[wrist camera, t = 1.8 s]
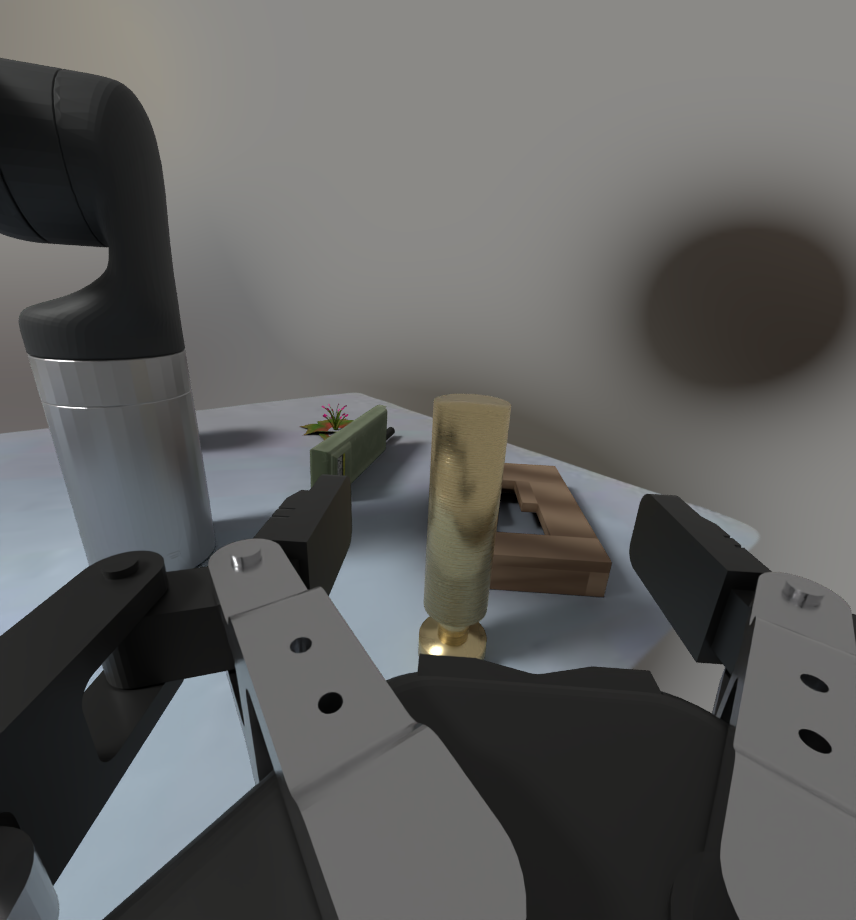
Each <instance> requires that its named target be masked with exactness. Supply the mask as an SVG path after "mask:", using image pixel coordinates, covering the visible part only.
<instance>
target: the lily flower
mask: <svg viewBox="0 0 856 920" xmlns="http://www.w3.org/2000/svg"><path fill="white" fill-rule="evenodd" d="M328 405H329V404H328ZM338 405H339V404H338ZM329 406H330V405H329ZM346 406H347V405H346ZM346 406H344V407H343V408H342V409H341V410H340V412H341V411H342V410H343V409H344V408H345V407H346ZM322 407H323V406H322ZM323 408H325V407H323ZM330 408H331V407H330ZM337 408H338V407H337ZM325 409H326V408H325ZM326 410H327V411H328V412H329V413H330V414H331V418H330V417H329V418H330V419H328V418H327V417H328V416H327V415H326V414H324V415H323V417H325V418H327V419H328V420H324V421H317V423H318V424H309V425H305V426H299V427H304V428H308V430H307V432H306V433H305V434H304V435H306V434H309V433H313V432H317V431H325V432H321V433H319V435H320V436H321V437H322V438H323V440H326V439H327V438H329V437H330V436H329V435H328V434H327V433H326V432H331V431H328V430H329V429H330V428H331V427H333V428H334V430H338V428H344V427H345V426H347V425H348V424H350V423H351V422H353V420H346V419H344V418H345V417H347V416H348V414H347V415H345V413H344V414H343V415H345V417H344V418H343V419H341V418H342V416H343V415H342V416H341V417H340V418H339V416H340V412H339V413H338V412H337V411H336V413H337V417H336V418H335V417H333V415H334V412H333V409H331V410H332V412H333V415H332V413H331V411H330V410H329V409H328V408H327V409H326ZM338 411H339V409H338ZM326 416H327V417H326ZM338 419H339V420H338ZM340 419H341V420H340ZM332 432H333V431H332Z"/></svg>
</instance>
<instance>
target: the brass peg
mask: <svg viewBox="0 0 856 920" xmlns="http://www.w3.org/2000/svg"><path fill="white" fill-rule="evenodd" d="M510 410H511V404H510V403H509V402H507V401H505V400H503V399H500V398H495V397H491V396H486V395H477V394H448V395H442V396H439V397H436V398H435V399H434V408H433V428H432V448H431V468H430V488H429V508H428V528H427V548H426V568H425V588H424V608H425V610H426V612H427V613H428V615H429V616H430V617H428V618H427V619H426V620H425V621H424V622H423V623H422V625H421V627H420V631H419V648H418V654H430V655H444V656H457V657H471V658H478V659H481V660H484V658H485V650H486V641H487V637H486V633H485V630H484V628H483V627H482V625H481V624H480V623H479V621H480V620H482V619H483V618H484V616H485V615H486V612H487V606H488V598H489V589H490V581H491V572H492V564H493V555H494V547H495V538H496V530H497V521H498V513H499V504H500V496H501V487H502V479H503V470H504V462H505V453H506V445H507V436H508V427H509V419H510Z"/></svg>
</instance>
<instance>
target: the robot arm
mask: <svg viewBox="0 0 856 920" xmlns="http://www.w3.org/2000/svg"><path fill="white" fill-rule="evenodd" d="M0 233H1V234H3V235H6V236H9V237H13V238H17V239H21V240H25V241H30V242H37V243H50V244H51V243H52V244H64V245H79V246H94V247H109V261H108V266H107V269H106V270H105V272H104V273H103V274H102V275H101V276H100V277H99V278H98V279H97V280H95V281H94V282H92V283H91V284H90V285H88V286H86V287H85V288H83V289H81V290H79V291H77V292H74V293H72V294H70V295H67V296H64V297H61V298H57V299H54V300H50V301H47V302H43V303H39V304H36V305H33V306H30V307H27V308H26V309H24V310H23V311H22V312H21V314H20V316H19V326H20V331H21V335H22V338H23V341H24V345H25V348H26V352H27V353H28V358H29V361H30V365H31V368H32V371H33V375H34V379H35V382H36V385H37V389H38V392H39V395H40V398H41V402H42V405H43V408H44V412H45V415H46V419H47V422H48V426H49V429H50V432H51V436H52V439H53V443H54V446H55V450H56V453H57V456H58V460H59V463H60V467H61V470H62V474H63V477H64V480H65V484H66V487H67V491H68V494H69V498H70V501H71V504H72V508H73V511H74V515H75V518H76V522H77V525H78V528H79V533H80V536H81V540H82V543H83V546H84V550H85V553H86V557H87V560H88V563H89V567H87V568H86V569H84V570H83V571H82V572H81V573H79V574H78V575H77V576H76V577H74V578H73V579H72V580H71V581H69V582H68V583H67V584H66V585H64V586H63V587H62V588H60V589H59V590H58V591H57V592H55V593H54V594H53V595H52V596H50V597H49V598H48V599H47V600H45V601H44V602H43V603H42V604H40V605H39V606H38V607H37V608H35V609H34V610H33V611H31V612H30V613H29V614H28V615H26V616H25V617H24V618H23V619H21V620H20V621H19V622H18V623H16V624H15V625H14V626H13V627H11V628H10V629H9V630H8V631H6V632H5V633H4V634H3V635H1V636H0V920H58V917H59V901H58V896H57V894H56V891H55V889H54V887H53V886H54V884H55V883H56V881H57V879H58V878H59V876H60V875H61V873H62V871H63V870H64V868H65V867H66V865H67V864H68V862H69V860H70V859H71V857H72V856H73V854H74V853H75V851H76V849H77V848H78V846H79V845H80V843H81V842H82V840H83V838H84V837H85V835H86V834H87V832H88V830H89V829H90V827H91V826H92V824H93V823H94V821H95V819H96V818H97V816H98V815H99V813H100V812H101V810H102V808H103V807H104V805H105V804H106V802H107V801H108V799H109V797H110V796H111V794H112V793H113V791H114V789H115V788H116V786H117V785H118V783H119V782H120V780H121V778H122V777H123V775H124V774H125V772H126V771H127V769H128V767H129V766H130V764H131V763H132V761H133V759H134V758H135V756H136V755H137V753H138V752H139V750H140V748H141V747H142V745H143V744H144V742H145V741H146V739H147V737H148V736H149V734H150V733H151V731H152V730H153V728H154V726H155V725H156V723H157V722H158V720H159V718H160V717H161V715H162V714H163V712H164V711H165V709H166V707H167V706H168V704H169V703H170V701H171V700H172V698H173V696H174V695H175V693H176V692H177V690H178V689H179V687H180V685H181V684H182V682H183V680H184V679H186V678H191V677H196V676H202V675H207V674H212V673H217V672H223V671H226V673H227V678H228V681H229V685H230V688H231V692H232V695H233V699H234V703H235V706H236V710H237V713H238V717H239V720H240V724H241V727H242V731H243V735H244V738H245V742H246V746H247V750H248V754H249V758H250V763H251V768H252V773H253V777H254V781H255V786H254V787H253V788H252V789H251V790H250V791H249V792H247V793H246V794H245V795H244V796H243V797H242V798H241V799H239V800H238V801H237V802H236V803H235V804H234V805H233V806H231V807H230V808H229V809H228V810H227V811H226V812H225V813H223V814H222V815H221V816H220V817H219V818H218V819H217V820H215V821H214V822H213V823H212V824H211V825H210V826H209V827H208V828H206V829H205V830H204V831H203V832H202V833H201V834H200V835H198V836H197V837H196V838H195V839H194V840H193V841H192V842H190V843H189V844H188V845H187V846H186V847H185V848H184V849H182V850H181V851H180V852H179V853H178V854H177V855H176V856H174V857H173V858H172V859H171V860H170V861H169V862H168V863H166V864H165V865H164V866H163V867H162V868H161V869H160V870H158V871H157V872H156V873H155V874H154V875H153V876H152V877H150V878H149V879H148V880H147V881H146V882H145V883H144V884H142V885H141V886H140V887H139V888H138V889H137V890H136V891H134V892H133V893H132V894H131V895H130V896H129V897H128V898H126V899H125V900H124V901H123V902H122V903H121V904H120V905H118V906H117V907H116V908H115V909H114V910H113V911H112V912H110V913H109V914H108V915H107V916H106V917H105V918H104V919H102V920H856V615H855V614H852V613H851V608H850V606H849V605H848V603H847V602H846V601H845V600H844V599H843V598H842V597H840V596H839V595H837V594H836V593H835V592H833V591H832V590H830V589H828V588H826V587H824V586H822V585H820V584H818V583H816V582H813V581H811V580H809V579H806V578H803V577H800V576H796V575H792V574H788V573H781V572H772V571H770V570H769V569H768V568H767V567H766V566H765V565H763V564H762V563H761V562H760V561H758V559H756V558H755V557H754V556H753V555H752V554H751V553H749V552H748V551H747V550H746V549H745V548H741V545H740V544H739V543H738V542H737V541H735V540H734V539H733V538H730V536H729V535H728V534H727V533H726V532H725V531H724V530H722V529H721V528H720V527H719V526H718V525H716V524H715V523H713V522H711V521H709V520H707V519H705V518H703V517H701V516H700V515H699V514H698V513H697V512H695V511H694V510H693V509H692V508H691V507H690V506H689V505H687V504H686V503H685V502H684V501H683V500H682V499H681V498H679V497H678V496H675V495H658V494H646V495H644V496H643V497H642V499H641V502H640V505H639V509H638V513H637V517H636V522H635V526H634V530H633V534H632V538H631V543H630V549H629V554H630V561H631V564H632V567H633V569H634V570H635V572H636V573H637V575H638V576H639V578H640V579H641V581H642V582H643V584H644V585H645V587H646V588H647V590H648V591H649V593H650V594H651V595H652V597H653V598H654V600H655V601H656V603H657V604H658V606H659V607H660V609H661V610H662V612H663V613H664V615H665V616H666V618H667V619H668V621H669V622H670V624H671V625H672V627H673V628H674V630H675V631H676V633H677V634H678V636H679V637H680V639H681V640H682V642H683V643H684V645H685V646H686V648H687V649H688V651H689V652H690V654H691V655H692V657H693V658H694V660H695V661H696V662H699V663H712V664H723V665H724V666H725V669H724V672H723V675H722V677H721V680H720V683H719V687H718V691H717V695H716V699H715V704H714V707H713V711H712V713H710V712H708V711H706V710H704V709H703V708H701V707H699V706H697V705H695V704H692V703H690V702H688V701H686V700H684V699H682V698H679V697H676V696H673V695H671V694H668V693H665V692H661V691H660V689H659V687H658V686H657V684H656V682H655V680H654V678H653V676H652V674H651V672H650V671H646V670H633V669H619V668H606V667H586V668H579V669H572V670H566V671H559V672H552V673H546V674H532V673H527V672H524V671H520V670H517V669H513V668H510V667H506V666H503V665H499V664H495V663H492V662H488V661H485V660H481V659H478V658H471V657H457V656H444V655H430V654H419V664H418V672H414V673H408V674H404V675H401V676H397V677H394V678H391V679H389V680H385V679H384V677H383V676H382V674H381V673H380V671H379V670H378V668H377V667H376V665H375V664H374V663H373V661H372V660H371V658H370V657H369V655H368V654H367V652H366V651H365V649H364V648H363V646H362V645H361V643H360V642H359V640H358V639H357V638H356V636H355V635H354V633H353V632H352V630H351V629H350V627H349V626H348V624H347V623H346V621H345V620H344V618H343V617H342V615H341V614H340V613H339V611H338V610H337V608H336V607H335V605H334V604H333V602H332V601H331V599H330V598H329V594H330V592H331V590H332V587H333V585H334V582H335V580H336V578H337V575H338V573H339V571H340V568H341V566H342V563H343V561H344V559H345V556H346V554H347V551H348V549H349V546H350V542H351V534H352V511H351V482H350V478H349V476H343V475H326V474H322V475H321V476H320V477H319V478H318V480H317V481H316V482H315V484H314V485H313V486H312V488H311V489H310V490H309V491H308V490H301V491H299V492H297V493H295V494H293V495H291V496H289V497H288V498H286V500H285V501H284V502H283V503H282V504H281V506H280V507H279V509H277V510H276V511H275V513H274V514H273V515H272V517H270V519H269V520H268V521H267V522H266V523H265V525H264V526H263V527H262V528H261V529H260V530H259V532H258V533H257V534H256V535H255V536H254V538H253V539H246V540H241V541H237V542H233V543H231V544H228V545H226V546H224V547H222V548H220V549H219V550H217V551H216V552H215V553H214V554H213V555H212V556H211V557H210V559H209V562H208V566H207V567H201V568H194V567H196V566H197V565H199V564H201V563H202V562H203V561H204V560H205V559H207V558H208V557H209V556H210V554H211V553H212V552H213V550H214V548H215V545H216V540H215V533H214V527H213V520H212V514H211V508H210V500H209V494H208V487H207V481H206V475H205V469H204V462H203V456H202V450H201V444H200V437H199V431H198V425H197V418H196V412H195V406H194V400H193V393H192V389H191V383H190V376H189V370H188V364H187V357H186V351H185V350H184V349H185V345H184V339H183V333H182V327H181V320H180V314H179V305H178V299H177V292H176V286H175V279H174V272H173V264H172V255H171V247H170V237H169V226H168V215H167V205H166V194H165V186H164V179H163V171H162V164H161V160H160V155H159V150H158V146H157V142H156V138H155V135H154V131H153V128H152V125H151V123H150V120H149V118H148V116H147V114H146V112H145V110H144V108H143V106H142V104H141V103H140V101H139V100H138V98H137V97H136V96H135V94H134V93H133V92H132V91H131V90H130V89H129V88H127V87H126V86H125V85H124V84H122V83H120V82H118V81H116V80H113V79H110V78H107V77H102V76H98V75H94V74H89V73H83V72H77V71H72V70H66V69H60V68H55V67H49V66H44V65H38V64H32V63H26V62H20V61H15V60H9V59H3V58H0ZM101 665H102V666H103V669H104V670H103V671H102V672H101V673H100V675H99V676H98V677H97V678H96V679H95V680H94V682H93V683H92V684H91V685H90V686H89V687H88V688H87V690H86V691H85V692H84V690H85V688H86V685H87V683H88V681H89V679H90V678H91V676H92V675H93V674H94V672H95V671H96V670H97V669H98V668H99V667H100V666H101Z"/></svg>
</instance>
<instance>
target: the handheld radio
mask: <svg viewBox="0 0 856 920" xmlns="http://www.w3.org/2000/svg"><path fill="white" fill-rule="evenodd" d="M385 407H386V406H383V405H377V406H375V407H374V408H372V409H371V410H369V411H368V412H366V413H365V414H363V415H362V416H360V417H359V418H357V419H356V420H354V421H353V422H351V423H350V424H348V425H347V426H345V427H344V428H342V429H341V430H339V431H338V432H336V433H335V434H333V435H332V436H330V437H329V438H327V439H326V440H324V441H323V442H321V443H320V444H318V445H317V446H315V447H314V448H312V449H311V450H310V473H311V488H312V486H313V485H314V484H315V482H316V481H317V480H318V478H319V477H320V476H321V475H322V474H326V475H343V476H349V478H350V482H351V483H352V482H353V481H354V480H355V479H356V478H357V477H358V476H359V475H360V474H361V473H362V472H363V471H364V470H365V469H366V468H367V467H368V466H369V465H370V464H371V463H372V462H373V461H374V460H375V459H376V458H377V457H378V456H379V455H380V454H381V453H382V452H383V451H384V450H385V449H386V440H387V439H389V438H390V437H391V436H392V435H393V434H394V433H395V430H394V428H392V427H389V428H388V429H387V410H386V409H385Z"/></svg>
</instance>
